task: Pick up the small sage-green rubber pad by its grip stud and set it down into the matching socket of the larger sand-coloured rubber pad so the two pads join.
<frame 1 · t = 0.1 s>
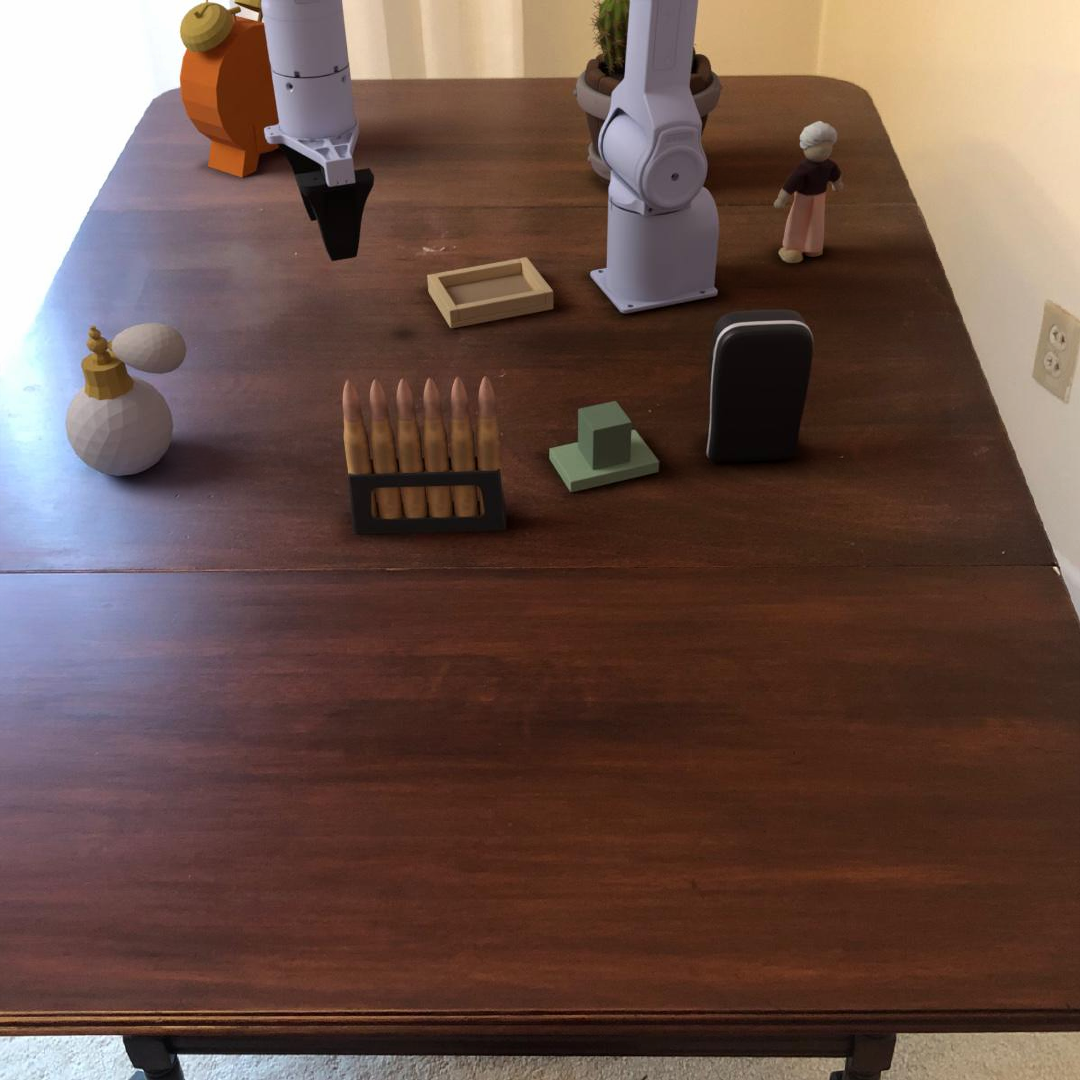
hand: (332, 236, 98), 10 cm above the table, tool pointing down, fingers open, 7 cm apart
perfume bottle: (146, 462, 92), on the table
ammunition clip: (430, 525, 86), on the table
grandmother figurine: (803, 254, 117), on the table
socket pad: (490, 300, 111), on the table
alarm clock: (257, 158, 137), on the table
battery charger: (748, 451, 92), on the table
green pad: (603, 465, 91), on the table
flowerpot: (644, 178, 131), on the table
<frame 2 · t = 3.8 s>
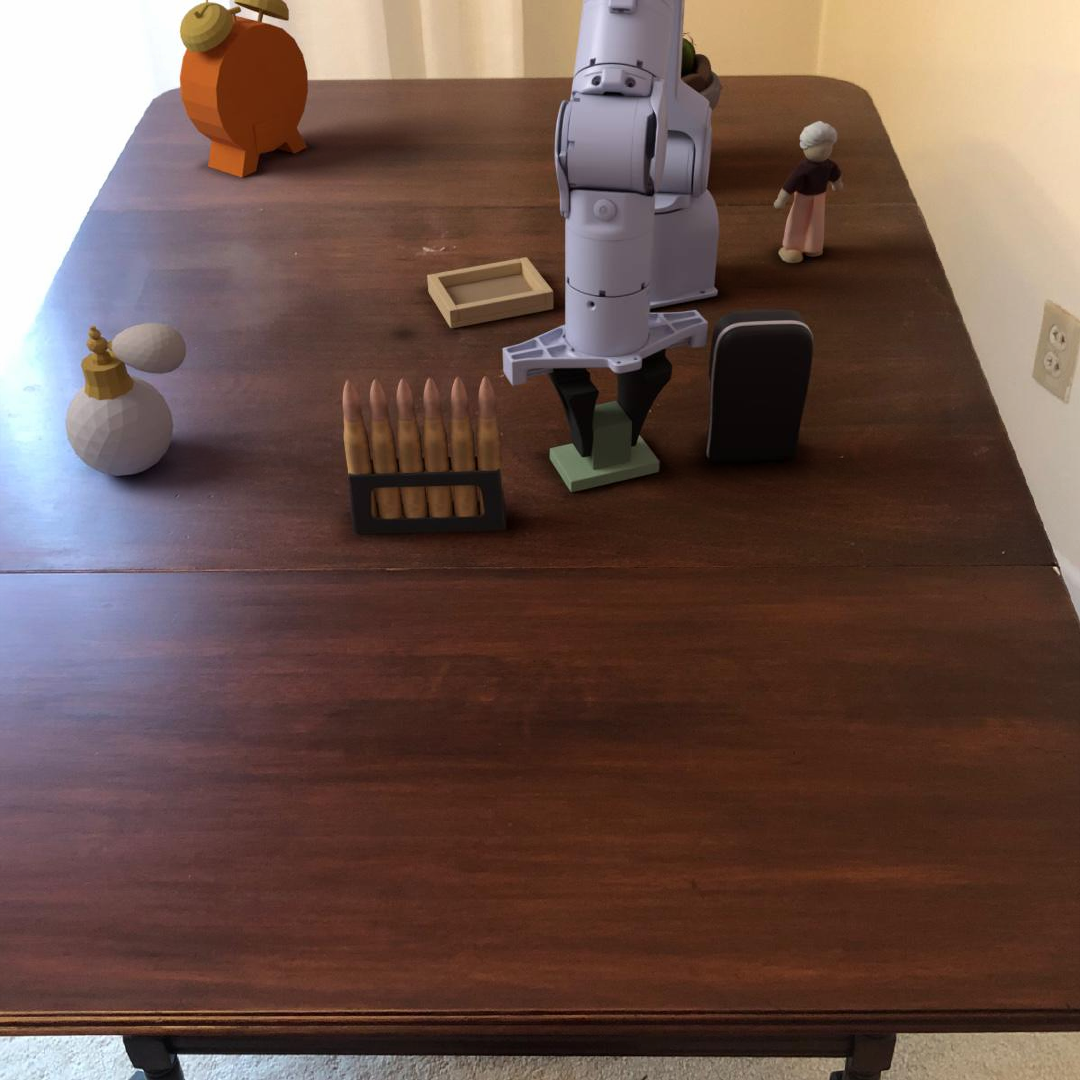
hand: (604, 444, 90), 2 cm above the table, tool pointing down, fingers closed on green pad, 3 cm apart
green pad: (603, 465, 91), on the table, touching gripper
everything else where it was.
when the fingers open (3 cm above the table, at t = 8.8 s): green pad stays where it is, resting on socket pad.
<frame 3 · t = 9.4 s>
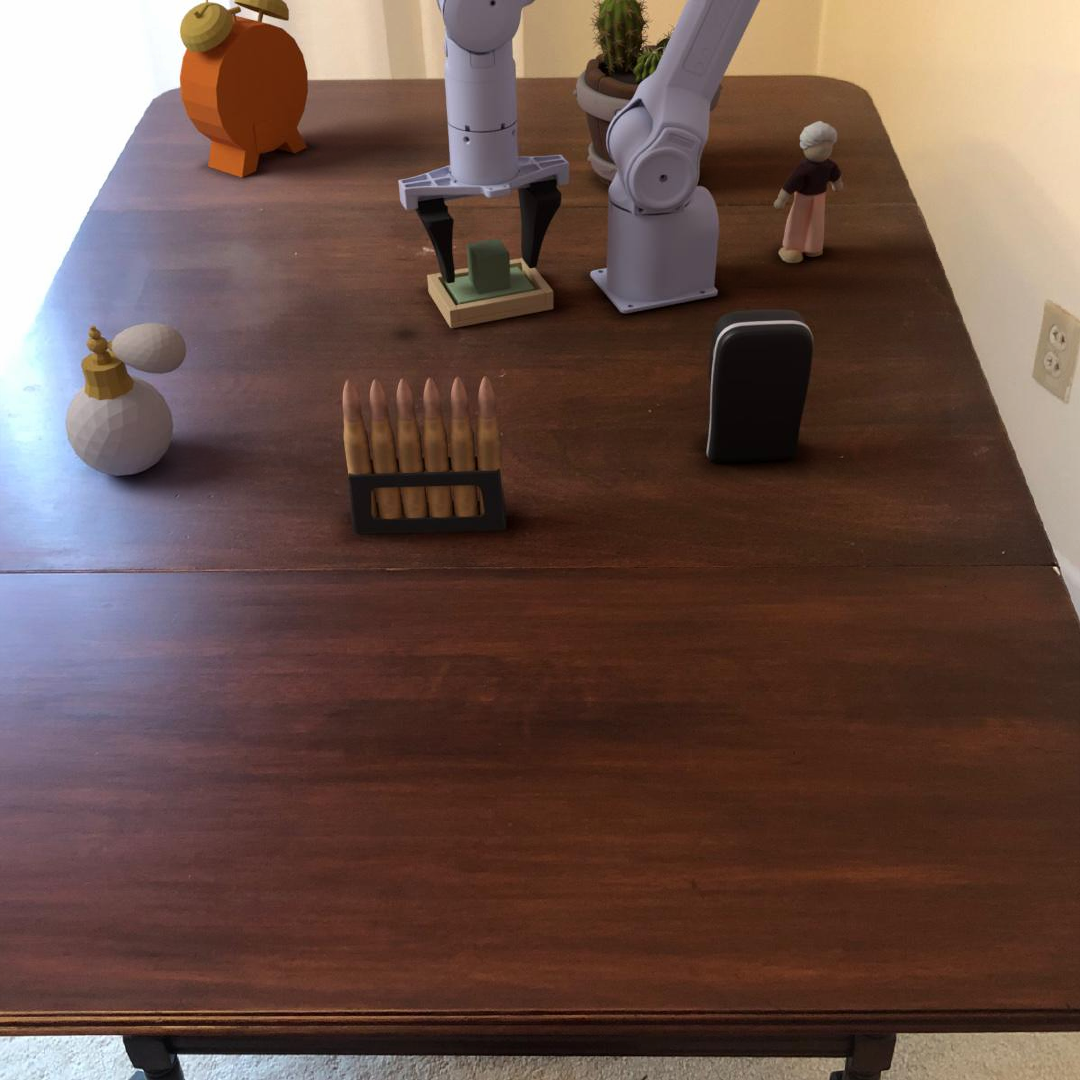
hand: (489, 270, 109), 3 cm above the table, tool pointing down, fingers open, 7 cm apart
green pad: (489, 293, 110), point 1 cm above the table, touching socket pad
everything else where it was.
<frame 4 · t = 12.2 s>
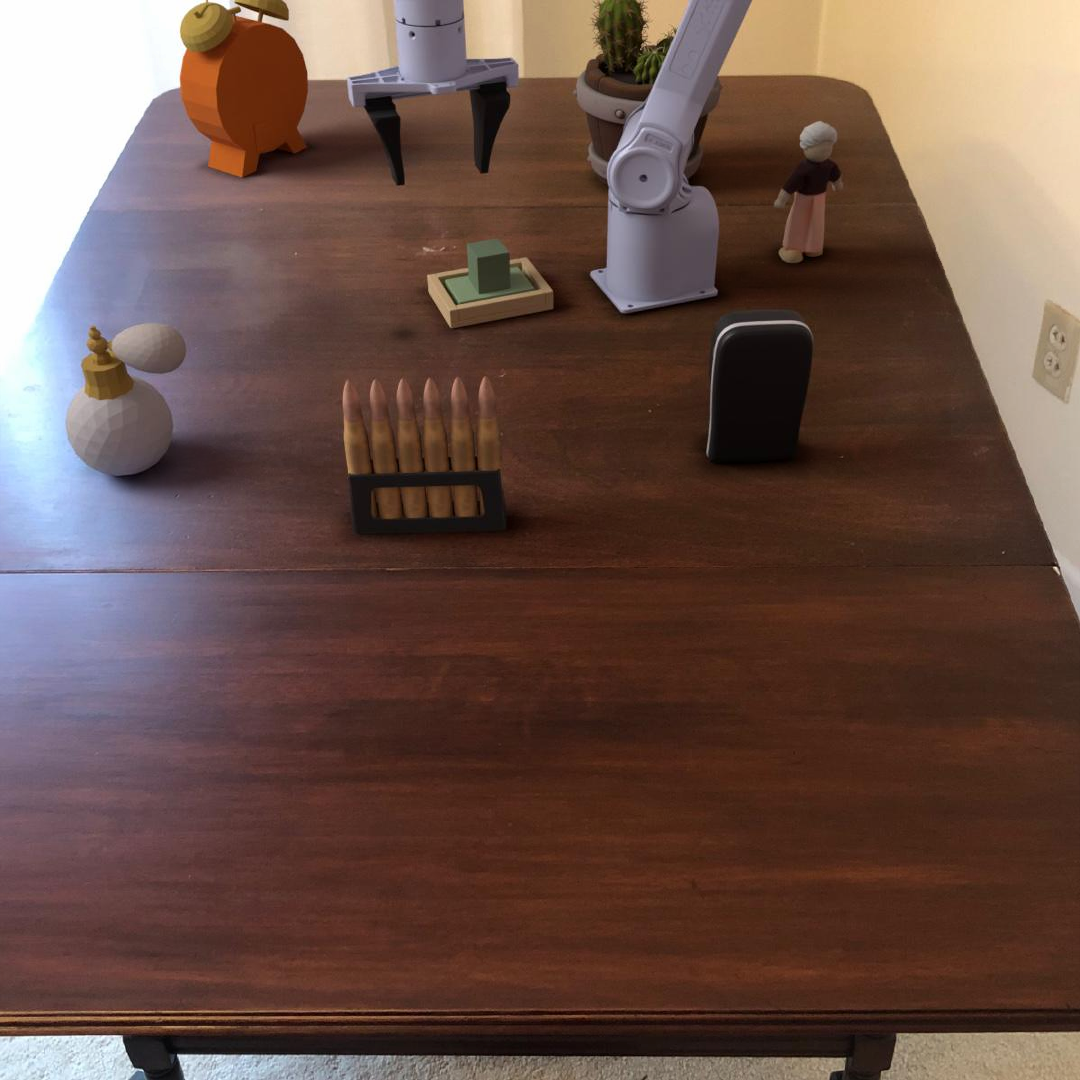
hand: (440, 175, 109), 9 cm above the table, tool pointing down, fingers open, 7 cm apart
nothing on the table moved.
at the end: green pad 0.0 cm off-centre on the socket pad, point 0.7 cm above the socket pad's base; green pad tilted 0°; the gripper is holding nothing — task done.
